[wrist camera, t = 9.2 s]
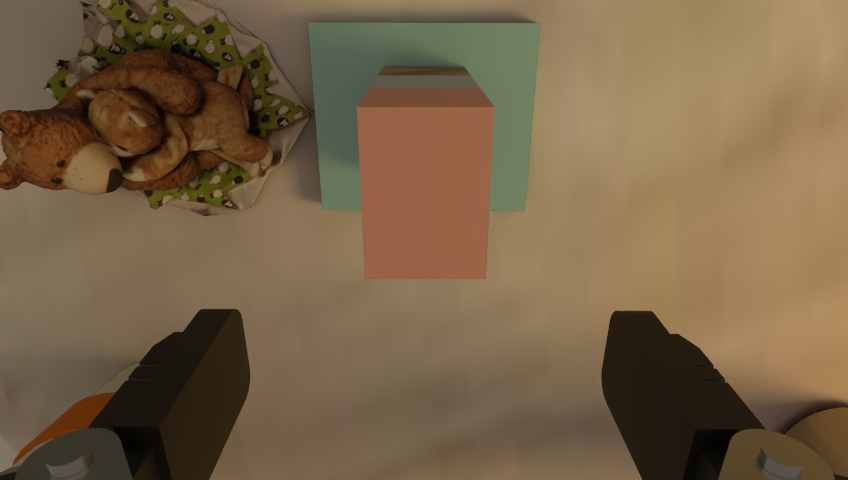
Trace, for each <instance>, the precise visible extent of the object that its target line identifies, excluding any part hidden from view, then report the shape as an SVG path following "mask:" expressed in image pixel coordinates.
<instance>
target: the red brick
mask: <svg viewBox="0 0 848 480" xmlns="http://www.w3.org/2000/svg"><path fill="white" fill-rule="evenodd" d="M494 108H495V107H494V106H493V104H492V103H491V102H490V100H489V99H488V97H487V96H486V95H485V93H484V92H483V91H482V89H481V88H480V89H369V90H368V91H367V93H366V94H365V96H364V97H363V99H362V100H361V102H360V103H359V105H358V106H357V124H358V144H359V164H360V184H361V205H362V225H363V245H364V265H365V279H486V264H487V245H488V225H489V205H490V186H491V166H492V147H493V127H494Z"/></svg>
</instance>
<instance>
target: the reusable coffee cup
mask: <svg viewBox="0 0 848 480" xmlns="http://www.w3.org/2000/svg"><path fill="white" fill-rule="evenodd" d="M139 365H140V363H137V364H133V365H131V366H129V367H127V368H125V369H123V370H122V371H121V372H119V373H118V374H117V375H116V376H115V377H114V378H112V379H111V380H110V381H109V382H108V383H107V384H106V385H104V386H103V387H102V388H101V389H100V390H99V391H98V392H96V393H95V394H94V395H93V396H89V397H87V398H85V399H83V400H81V401H79V402H77V403H76V404H75V405H73V406H72V407H71V408H70V409H69V410H67V411H66V412H65V413H64V414H63V415H61V416H60V417H59V418H58V419H57V420H56V421H55V422H53V423H52V424H51V425H50V426H49V427H48V428H46V429H45V430H44V431H43V432H42V433H41V434H39V435H38V436H37V437H36V438H35V439H34V440H32V441H31V442H30V443H29V444H28V445H27V446H25V447H24V448H23V449H22V450H21V451H20V453H19V454H18V456H17V457H16V458H15V460H14V463H13V466H12V467H11V468H9V469H7V470H5V471H3V472H1V473H0V475H5V474H9V473H13V472H17V471H18V469H19V467H20V466H21V464H22V463H23V462H24V461H25V459H26V458H27V457H28V456H30V455H31V454H32V453H33V452H34V451H35V450H37V449H38V448H39V447H41V446H42V445H44V444H45V443H47V442H49V441H51V440H53V439H54V438H56V437H59V436H61V435H64V434H66V433H69V432H72V431H76V430H80V429H86V428H88V426H89V425H90V424H91V423H92V421H93V420H94V419H95V418H96V416H97V415H98V414H99V413H100V411H101V410H102V409H103V408H104V406H105V405H106V404H107V403H108V402H109V400H110V399H111V398H112V397H113V395H114V394H115V393H116V392H117V390H118V389H119V388H120V387H121V385H122V384H123V383H124V382H125V381H128V377H129V375H130V374H131V373H132V372H133V370H134V369H135V368H136V367H137V366H139Z"/></svg>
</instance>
